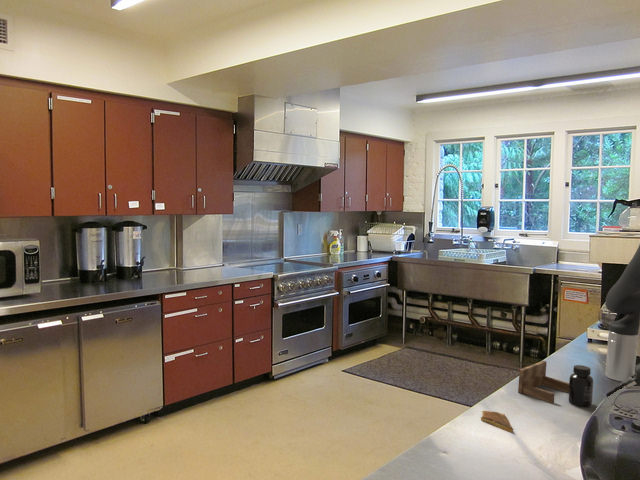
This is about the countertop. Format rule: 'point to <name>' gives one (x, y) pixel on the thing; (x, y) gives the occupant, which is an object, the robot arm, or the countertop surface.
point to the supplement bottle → (581, 387)
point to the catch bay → (539, 382)
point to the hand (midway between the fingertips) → (608, 397)
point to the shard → (497, 420)
